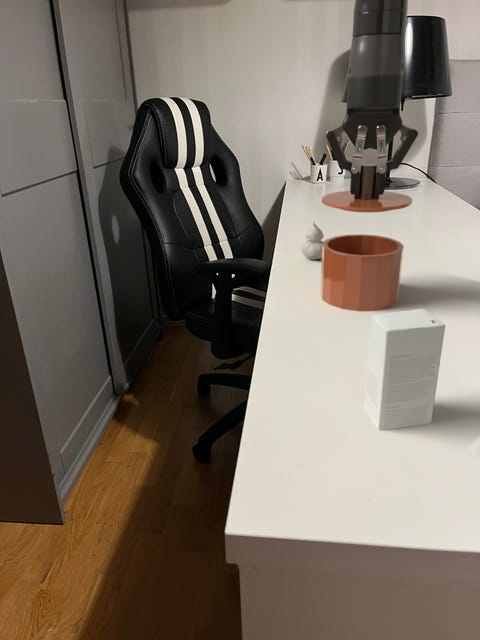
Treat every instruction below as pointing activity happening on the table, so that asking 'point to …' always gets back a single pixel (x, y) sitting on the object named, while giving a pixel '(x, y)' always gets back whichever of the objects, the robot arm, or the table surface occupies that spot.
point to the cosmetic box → (402, 368)
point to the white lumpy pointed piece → (313, 243)
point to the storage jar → (361, 272)
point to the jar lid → (367, 196)
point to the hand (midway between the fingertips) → (366, 197)
